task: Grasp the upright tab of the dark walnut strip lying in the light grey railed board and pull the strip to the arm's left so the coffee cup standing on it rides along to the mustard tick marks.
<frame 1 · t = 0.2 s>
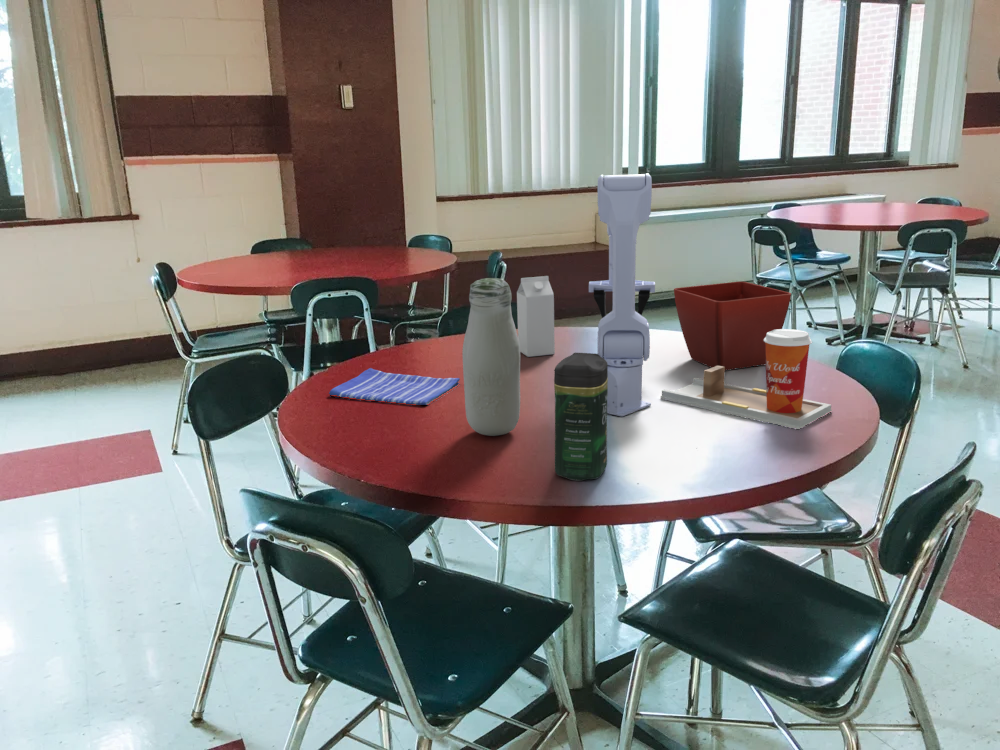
hand: (621, 321, 183), 11 cm above the table, tool pointing down, fingers open, 7 cm apart
plant pot: (727, 363, 187), on the table
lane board: (742, 405, 156), on the table
dish towel: (395, 393, 174), on the table
strip: (755, 390, 154), point 3 cm above the table, slide at 0.0 cm, touching coffee cup
coffee cup: (784, 413, 150), resting on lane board, touching strip
glass bottle: (494, 434, 146), on the table
coffee jar: (581, 471, 128), on the table
milk carton: (536, 353, 202), on the table
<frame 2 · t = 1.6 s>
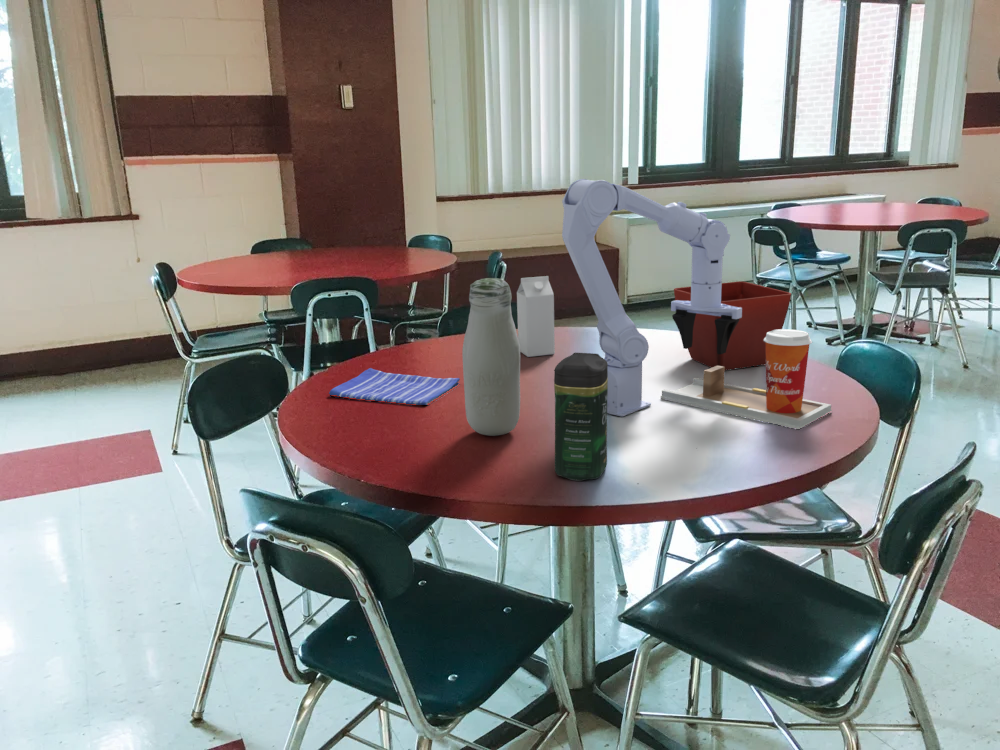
hand: (704, 350, 160), 10 cm above the table, tool pointing down, fingers open, 7 cm apart
nothing on the table moved.
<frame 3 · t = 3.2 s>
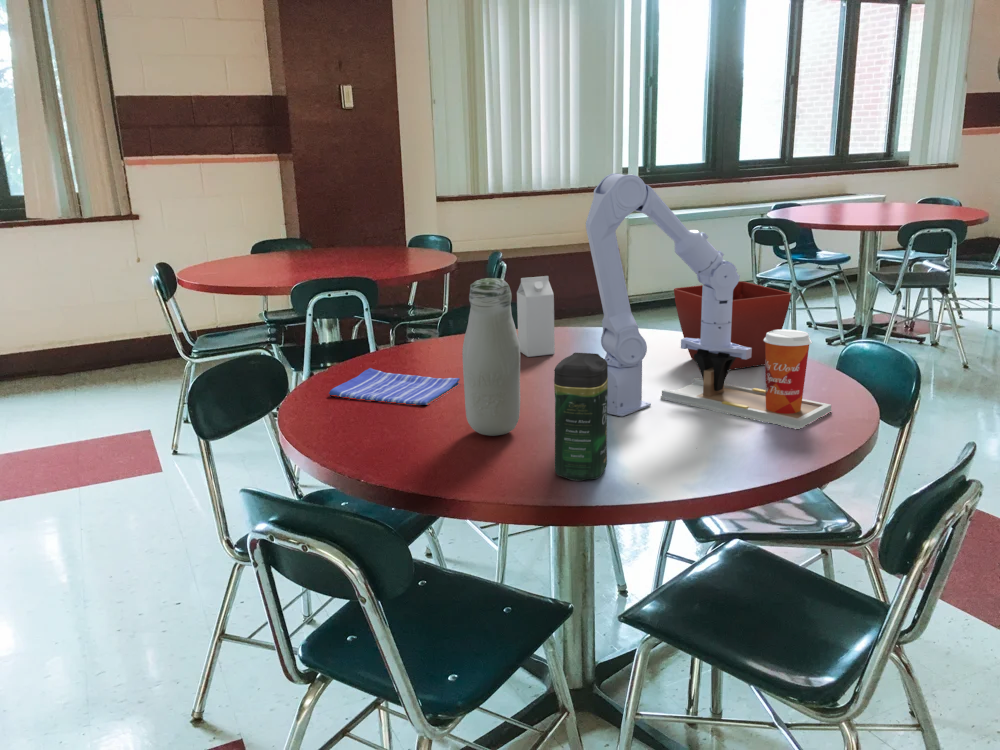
hand: (713, 388, 160), 2 cm above the table, tool pointing down, fingers closed, pressing on strip
strip: (755, 390, 154), point 3 cm above the table, slide at 0.0 cm, touching coffee cup, gripper
everything else where it was.
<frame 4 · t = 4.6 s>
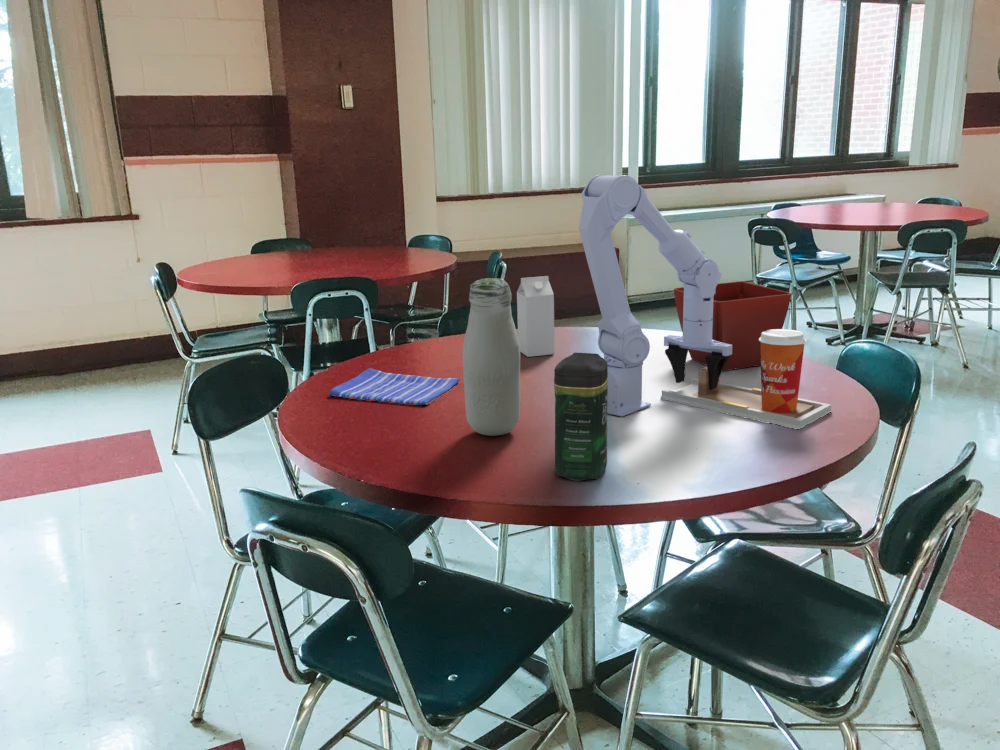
hand: (695, 385, 163), 2 cm above the table, tool pointing down, fingers open, 7 cm apart
strip: (750, 389, 154), point 3 cm above the table, slide at 1.2 cm, touching coffee cup, gripper
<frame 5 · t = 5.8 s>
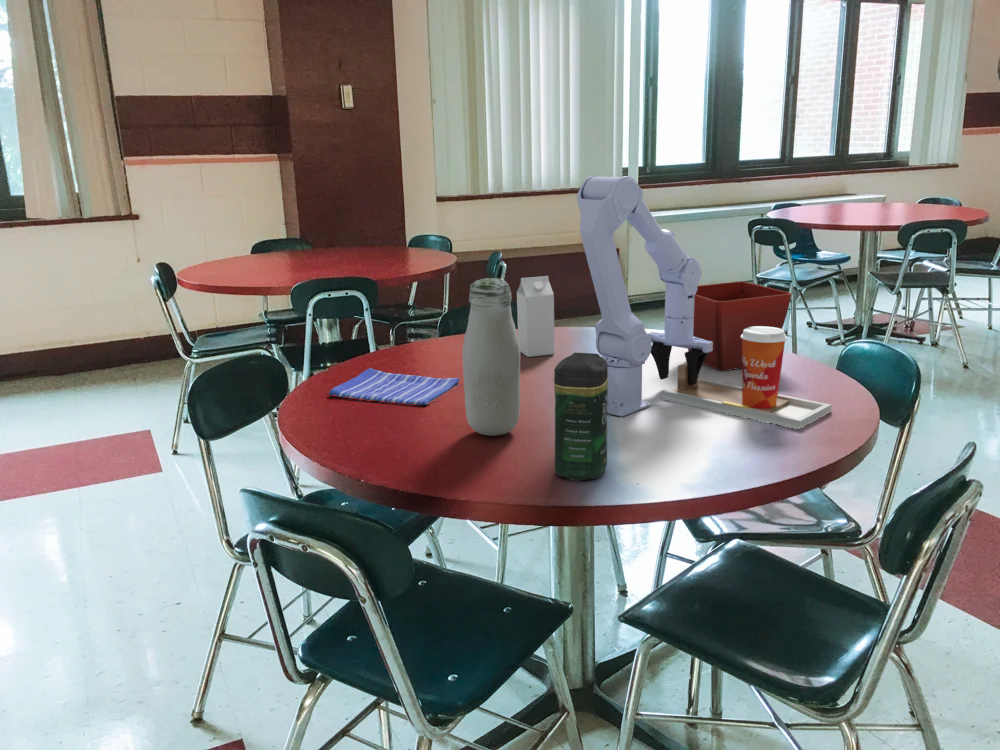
hand: (677, 381, 166), 2 cm above the table, tool pointing down, fingers open, 6 cm apart
strip: (727, 385, 158), point 3 cm above the table, slide at 5.9 cm, touching coffee cup, gripper
coffee cup: (759, 408, 153), resting on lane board, touching strip
everything else where it was.
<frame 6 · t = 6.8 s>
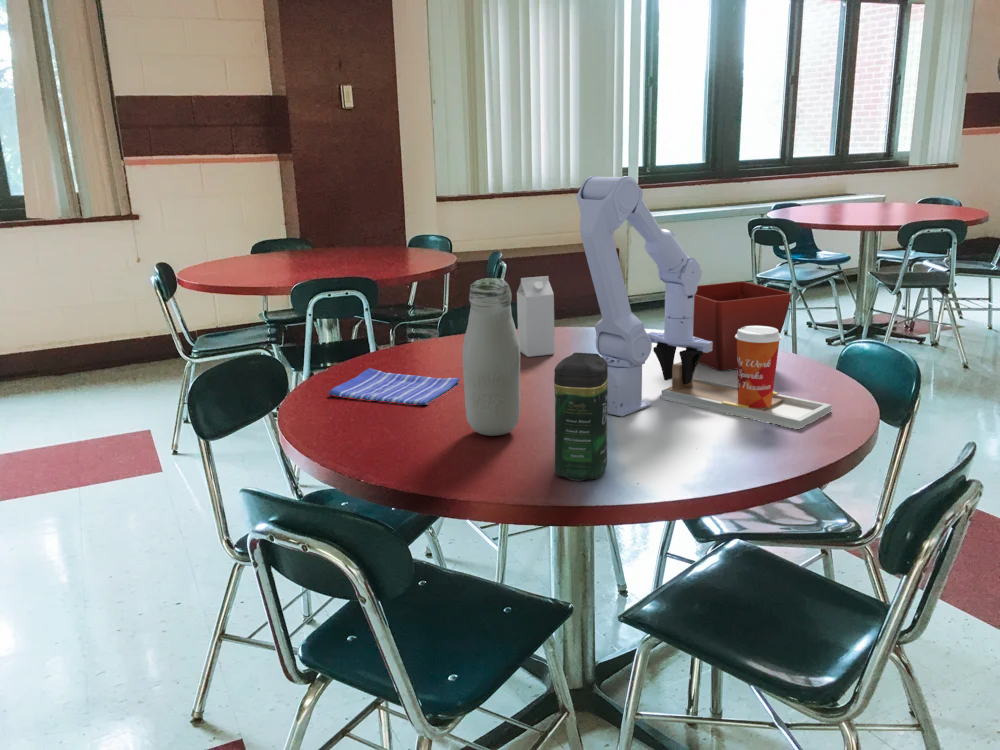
hand: (677, 381, 166), 2 cm above the table, tool pointing down, fingers open, 4 cm apart
strip: (721, 383, 159), point 3 cm above the table, slide at 7.2 cm, touching coffee cup, gripper
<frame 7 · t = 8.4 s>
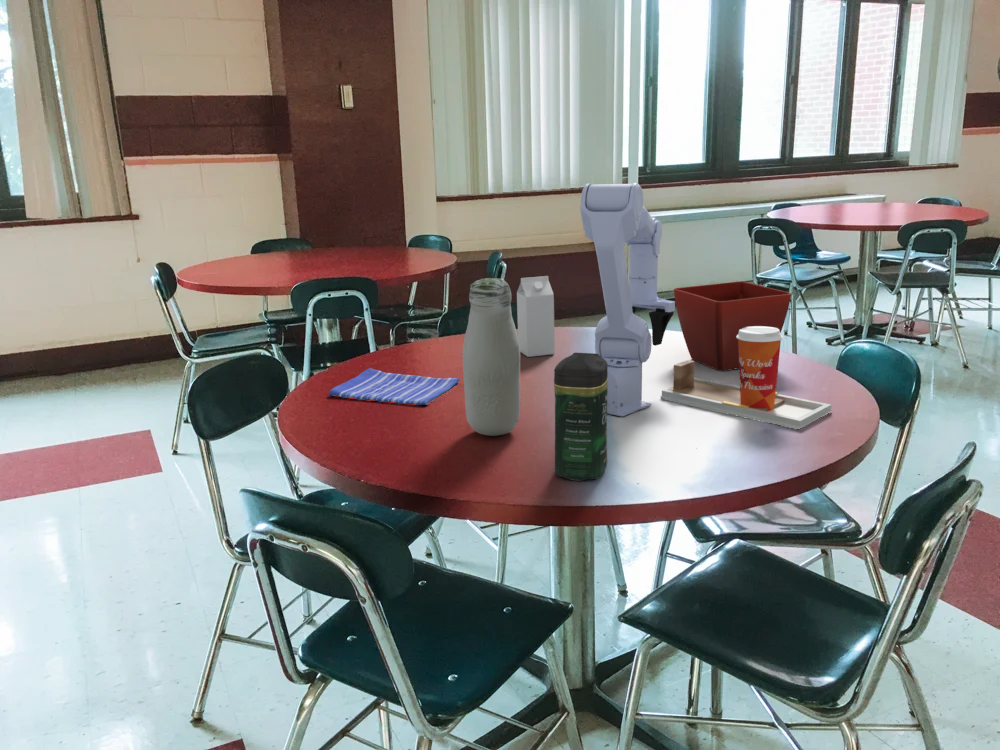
hand: (642, 341, 169), 9 cm above the table, tool pointing down, fingers open, 7 cm apart
strip: (723, 384, 158), point 3 cm above the table, slide at 7.0 cm, touching coffee cup
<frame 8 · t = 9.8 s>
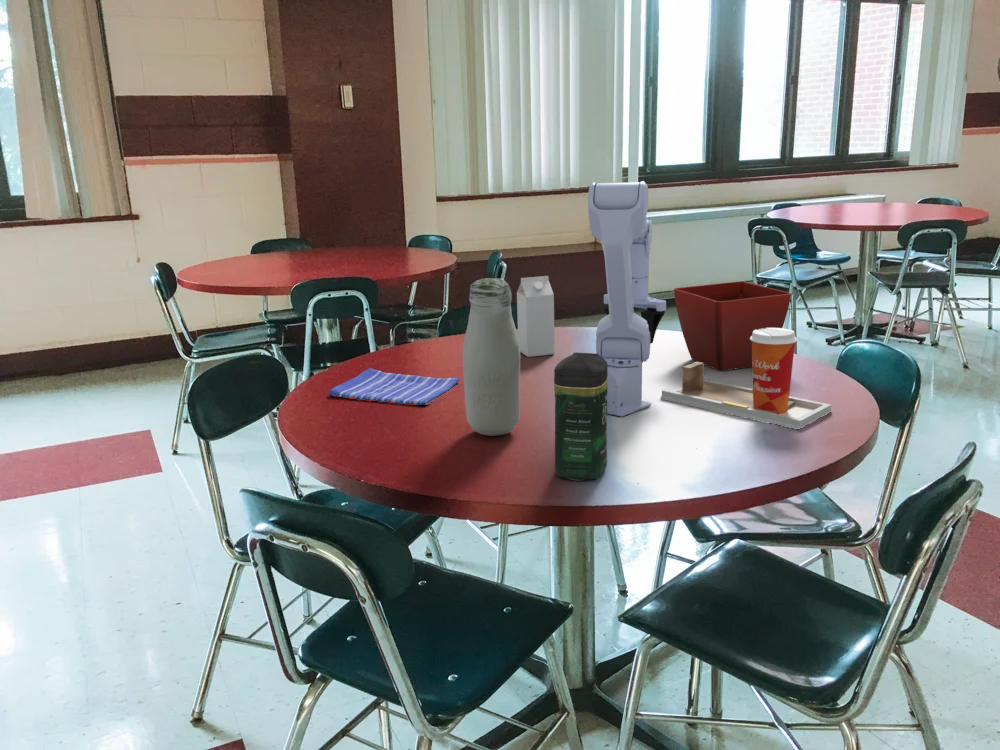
hand: (633, 341, 170), 9 cm above the table, tool pointing down, fingers open, 7 cm apart
strip: (733, 386, 157), point 3 cm above the table, slide at 4.8 cm, touching coffee cup
coffee cup: (770, 410, 152), resting on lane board, touching strip
everything else where it was.
at the end: strip slide at 5.1 cm; coffee cup inside the target area (4.6 cm from its centre), resting in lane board; coffee cup tilted 1° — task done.
